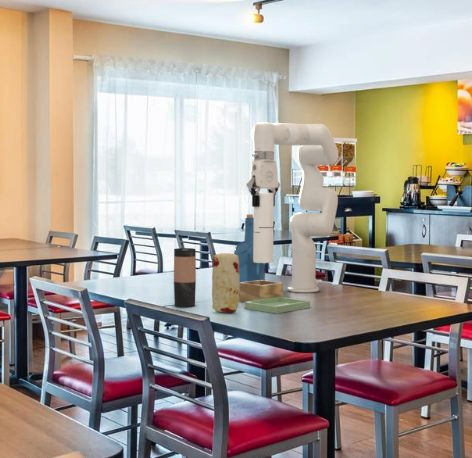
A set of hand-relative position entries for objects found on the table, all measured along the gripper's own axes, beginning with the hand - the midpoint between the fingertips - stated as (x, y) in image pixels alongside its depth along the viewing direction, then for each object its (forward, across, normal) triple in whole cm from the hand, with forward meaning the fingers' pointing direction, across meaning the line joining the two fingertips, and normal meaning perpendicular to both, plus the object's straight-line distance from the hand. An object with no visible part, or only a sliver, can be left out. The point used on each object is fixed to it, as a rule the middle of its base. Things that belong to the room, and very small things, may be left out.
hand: (263, 206), depth 282 cm
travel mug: (+35, -26, +13) cm, 45 cm away
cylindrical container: (+20, 0, 0) cm, 20 cm away
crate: (+35, 0, +1) cm, 35 cm away
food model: (+35, -25, -7) cm, 43 cm away
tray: (+35, -6, -13) cm, 38 cm away
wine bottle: (+35, +28, +36) cm, 57 cm away
